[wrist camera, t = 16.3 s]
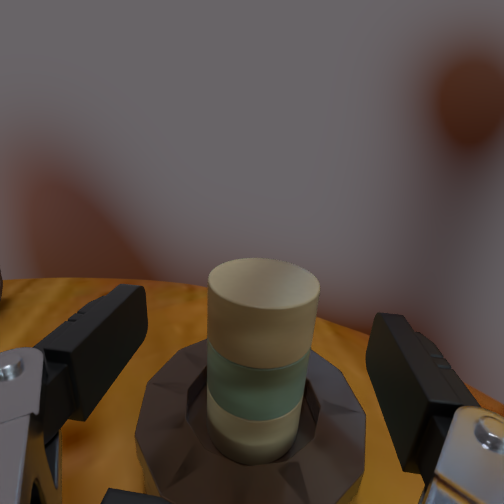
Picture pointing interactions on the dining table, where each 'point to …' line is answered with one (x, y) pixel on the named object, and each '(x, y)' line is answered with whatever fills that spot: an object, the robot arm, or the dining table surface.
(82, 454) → the dining table surface
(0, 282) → the tin
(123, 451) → the dining table surface
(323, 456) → the stand
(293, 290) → the disc stack
